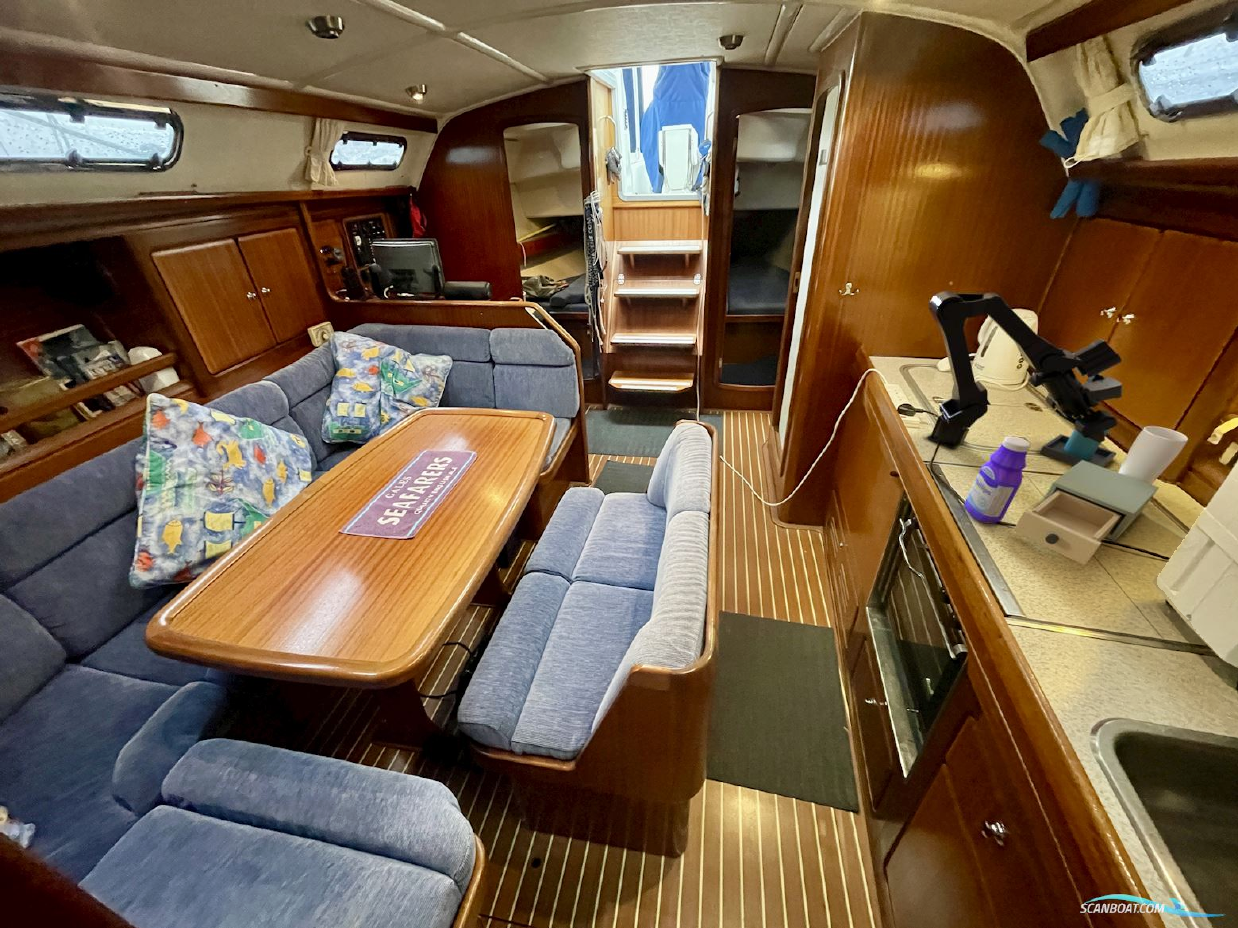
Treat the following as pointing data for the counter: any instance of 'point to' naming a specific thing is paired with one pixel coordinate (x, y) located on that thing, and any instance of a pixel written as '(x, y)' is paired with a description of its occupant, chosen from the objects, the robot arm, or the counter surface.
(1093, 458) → the tray
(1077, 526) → the drawer
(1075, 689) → the counter surface
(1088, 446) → the soap bottle
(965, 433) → the robot arm
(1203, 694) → the counter surface
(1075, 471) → the cabinet
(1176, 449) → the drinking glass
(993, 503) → the bottle
